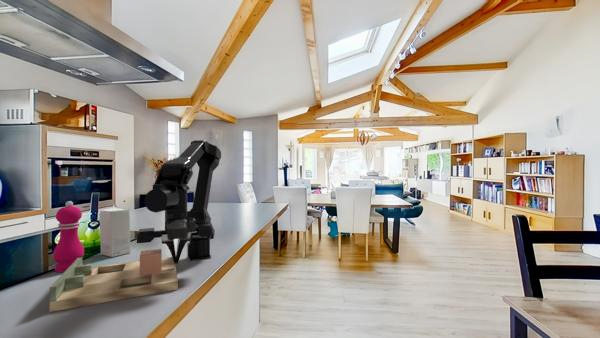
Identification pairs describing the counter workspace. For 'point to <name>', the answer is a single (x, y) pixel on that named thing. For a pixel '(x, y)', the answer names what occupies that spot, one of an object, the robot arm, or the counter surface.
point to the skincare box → (115, 232)
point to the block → (150, 262)
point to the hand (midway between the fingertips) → (176, 263)
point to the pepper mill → (68, 237)
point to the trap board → (108, 283)
